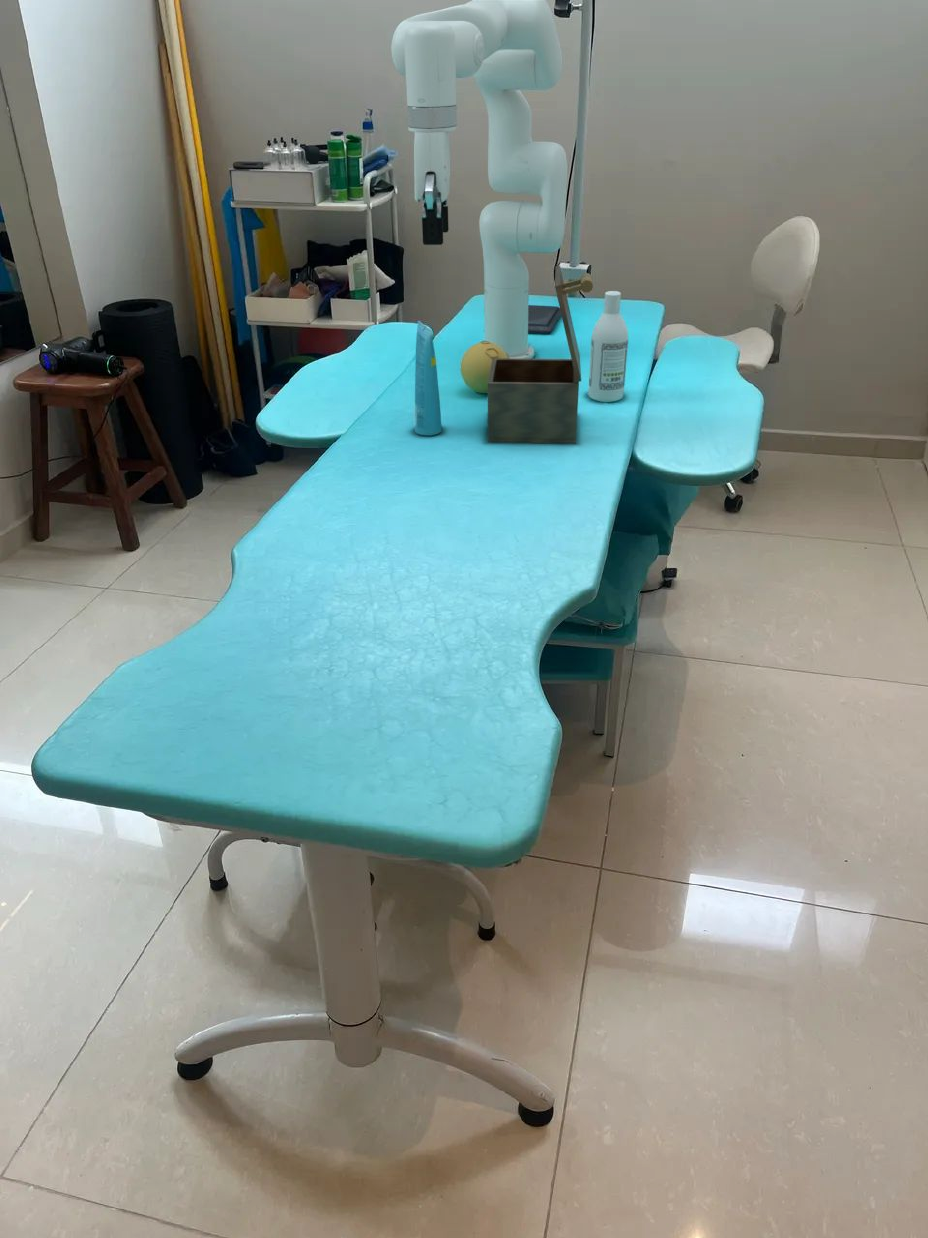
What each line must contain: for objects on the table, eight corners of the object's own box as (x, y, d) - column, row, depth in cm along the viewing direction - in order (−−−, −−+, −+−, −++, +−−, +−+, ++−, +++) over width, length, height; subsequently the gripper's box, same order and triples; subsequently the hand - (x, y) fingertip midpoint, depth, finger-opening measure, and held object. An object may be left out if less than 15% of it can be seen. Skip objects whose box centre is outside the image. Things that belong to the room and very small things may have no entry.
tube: (448, 435, 166) (445, 328, 156) (424, 440, 165) (419, 333, 154) (431, 421, 172) (427, 318, 161) (408, 426, 170) (402, 322, 160)
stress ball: (483, 404, 179) (483, 353, 174) (451, 391, 185) (449, 342, 180) (520, 391, 185) (521, 342, 179) (487, 379, 191) (487, 331, 185)
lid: (554, 286, 148) (590, 276, 146) (555, 266, 159) (588, 257, 157) (576, 382, 156) (610, 373, 155) (575, 356, 167) (607, 348, 166)
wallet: (549, 326, 215) (487, 322, 219) (549, 334, 216) (487, 330, 220) (566, 304, 231) (507, 300, 235) (565, 311, 232) (507, 308, 236)
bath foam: (630, 396, 181) (639, 292, 170) (606, 405, 177) (614, 299, 166) (605, 387, 185) (612, 285, 174) (580, 396, 182) (586, 292, 171)
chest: (487, 442, 163) (487, 383, 157) (492, 414, 175) (492, 358, 169) (575, 443, 162) (578, 384, 156) (574, 415, 173) (577, 358, 167)
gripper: (414, 114, 148) (419, 227, 157) (400, 125, 133) (406, 249, 143) (460, 113, 147) (462, 227, 157) (452, 124, 133) (454, 249, 142)
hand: (436, 237), depth 150 cm, fingers open, 9 cm apart
